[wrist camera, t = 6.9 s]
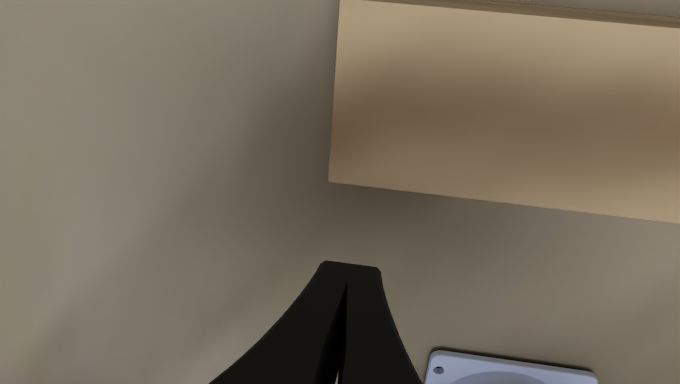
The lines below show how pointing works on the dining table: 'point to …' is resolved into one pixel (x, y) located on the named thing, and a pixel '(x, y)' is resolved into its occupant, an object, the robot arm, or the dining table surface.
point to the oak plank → (510, 104)
